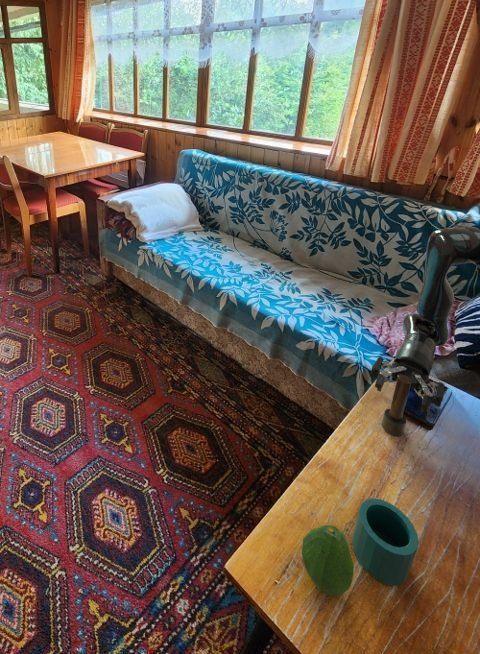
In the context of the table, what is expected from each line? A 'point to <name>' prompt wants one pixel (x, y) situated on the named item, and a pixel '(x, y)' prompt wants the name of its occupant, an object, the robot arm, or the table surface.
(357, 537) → the jar
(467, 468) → the table surface
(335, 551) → the avocado
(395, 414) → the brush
